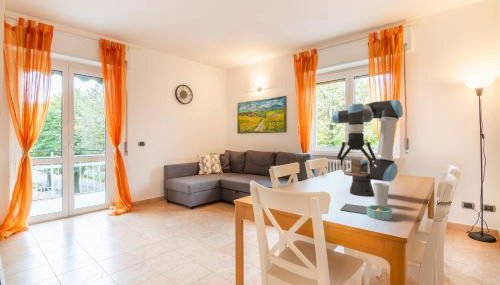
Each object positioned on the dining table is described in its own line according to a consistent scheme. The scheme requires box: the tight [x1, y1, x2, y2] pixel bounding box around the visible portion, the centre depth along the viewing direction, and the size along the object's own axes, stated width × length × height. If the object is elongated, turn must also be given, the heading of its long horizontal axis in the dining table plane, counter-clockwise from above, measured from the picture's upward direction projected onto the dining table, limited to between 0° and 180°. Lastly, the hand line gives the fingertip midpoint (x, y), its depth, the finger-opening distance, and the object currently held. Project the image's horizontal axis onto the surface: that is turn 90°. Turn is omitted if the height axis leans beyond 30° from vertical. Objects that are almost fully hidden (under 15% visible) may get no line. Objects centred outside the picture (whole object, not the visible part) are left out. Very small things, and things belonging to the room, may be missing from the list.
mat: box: [340, 203, 368, 216], centre depth 132 cm, size 13×13×1 cm
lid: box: [343, 159, 368, 177], centre depth 132 cm, size 12×12×8 cm
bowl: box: [366, 204, 393, 221], centre depth 121 cm, size 11×11×4 cm
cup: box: [373, 182, 390, 207], centre depth 139 cm, size 8×8×12 cm
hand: (355, 172), depth 132 cm, fingers closed on lid, 12 cm apart
